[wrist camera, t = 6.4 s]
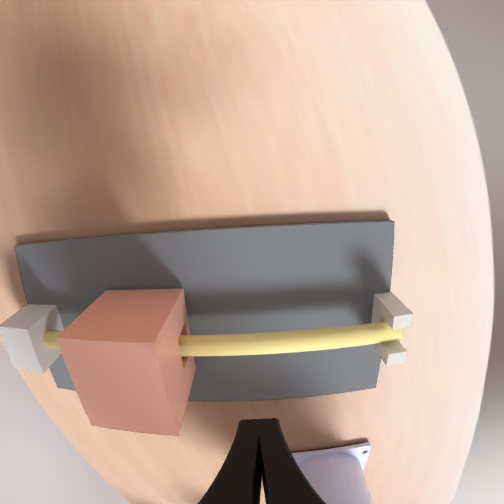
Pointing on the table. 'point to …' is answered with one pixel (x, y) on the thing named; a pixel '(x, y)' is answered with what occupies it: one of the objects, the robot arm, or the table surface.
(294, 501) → the robot arm
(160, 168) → the table surface
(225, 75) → the table surface
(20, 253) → the cord rig
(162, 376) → the marker sleeve
